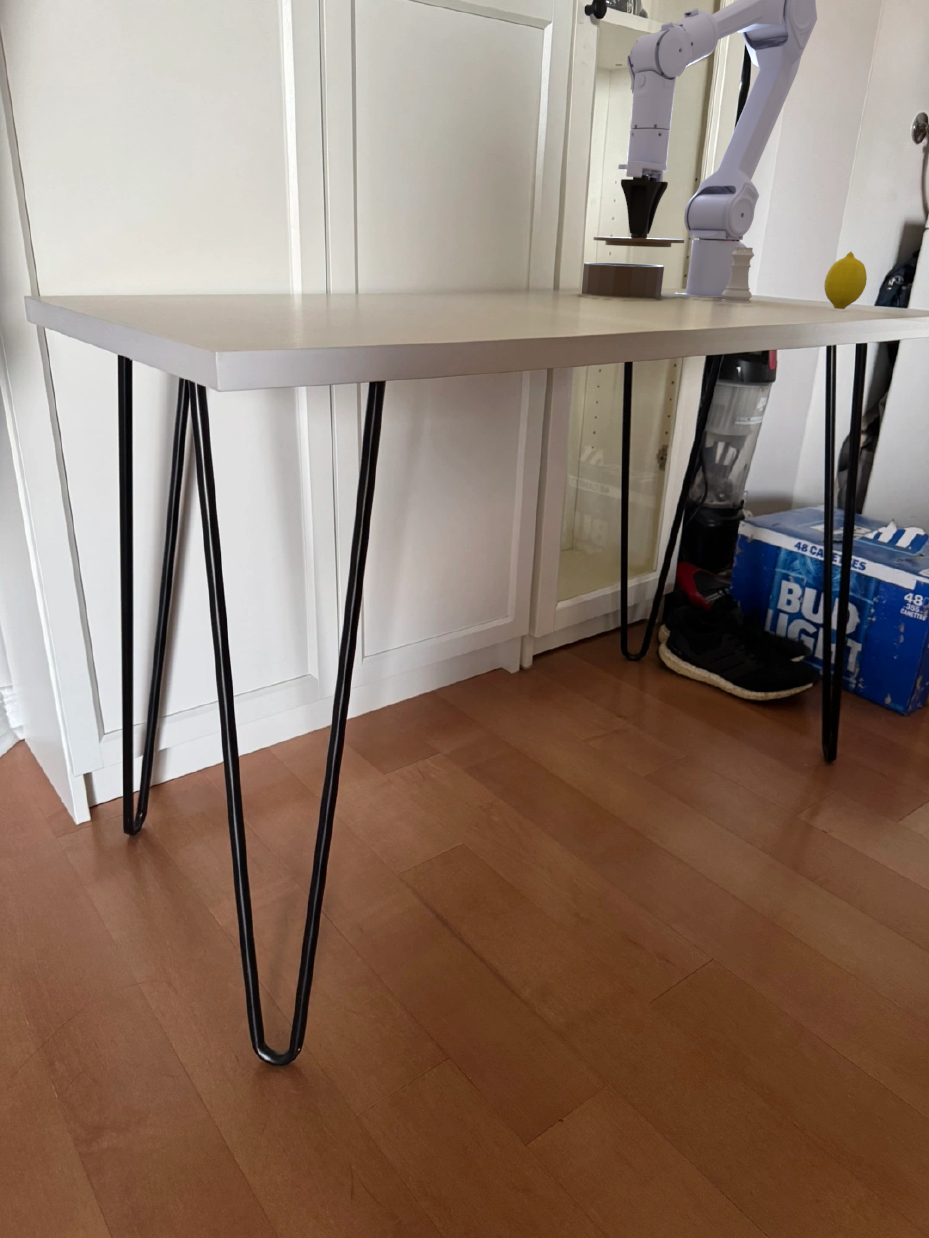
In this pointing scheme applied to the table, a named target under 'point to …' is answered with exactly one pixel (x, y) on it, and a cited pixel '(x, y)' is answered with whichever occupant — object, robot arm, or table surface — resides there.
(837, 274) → the fruit
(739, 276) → the rook chess piece
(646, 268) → the tin
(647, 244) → the tin lid
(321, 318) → the table surface
